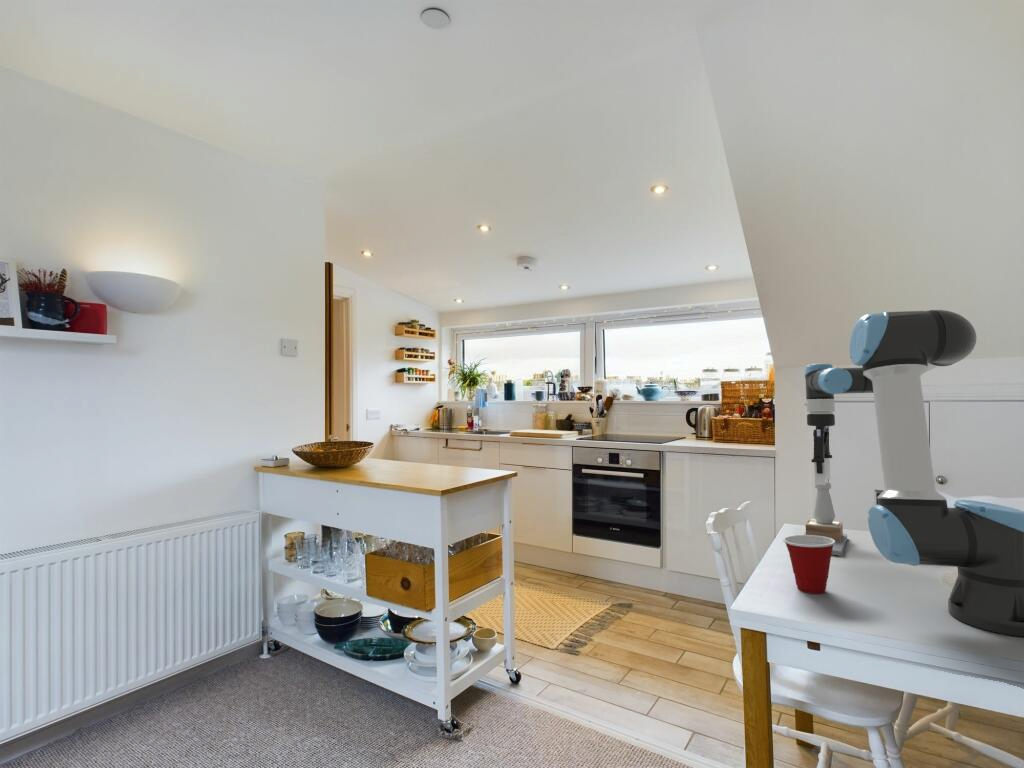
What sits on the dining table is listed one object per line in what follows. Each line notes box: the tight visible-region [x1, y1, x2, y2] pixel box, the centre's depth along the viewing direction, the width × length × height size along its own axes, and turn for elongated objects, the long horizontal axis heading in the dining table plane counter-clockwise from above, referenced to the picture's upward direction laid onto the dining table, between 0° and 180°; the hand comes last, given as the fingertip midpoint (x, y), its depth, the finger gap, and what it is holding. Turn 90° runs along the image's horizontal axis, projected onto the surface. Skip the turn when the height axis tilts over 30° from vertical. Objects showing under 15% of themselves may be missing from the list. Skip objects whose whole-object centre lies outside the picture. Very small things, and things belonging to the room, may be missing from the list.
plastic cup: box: [782, 534, 835, 595], centre depth 122 cm, size 11×11×12 cm
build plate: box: [803, 531, 848, 557], centre depth 158 cm, size 22×11×2 cm, turn 144°
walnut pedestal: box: [805, 518, 844, 542], centre depth 161 cm, size 9×9×4 cm
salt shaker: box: [812, 480, 836, 525], centre depth 162 cm, size 6×6×13 cm
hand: (823, 481), depth 161 cm, fingers open, 13 cm apart
